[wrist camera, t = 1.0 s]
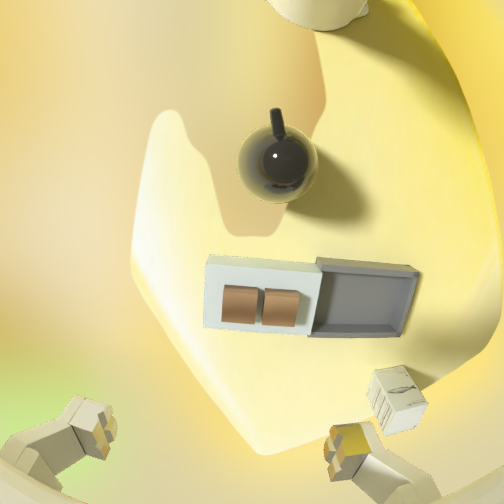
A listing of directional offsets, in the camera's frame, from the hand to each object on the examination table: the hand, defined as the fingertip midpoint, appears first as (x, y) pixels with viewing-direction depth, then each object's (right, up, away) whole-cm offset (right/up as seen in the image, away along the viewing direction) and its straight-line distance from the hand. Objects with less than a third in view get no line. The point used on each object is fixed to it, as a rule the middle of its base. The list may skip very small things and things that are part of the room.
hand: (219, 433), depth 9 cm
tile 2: (+5, -1, +32) cm, 32 cm away
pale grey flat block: (+2, +1, +36) cm, 36 cm away
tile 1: (-1, 0, +31) cm, 31 cm away
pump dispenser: (+4, +19, +31) cm, 36 cm away
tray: (+19, -1, +36) cm, 41 cm away
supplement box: (+29, -20, +42) cm, 55 cm away
